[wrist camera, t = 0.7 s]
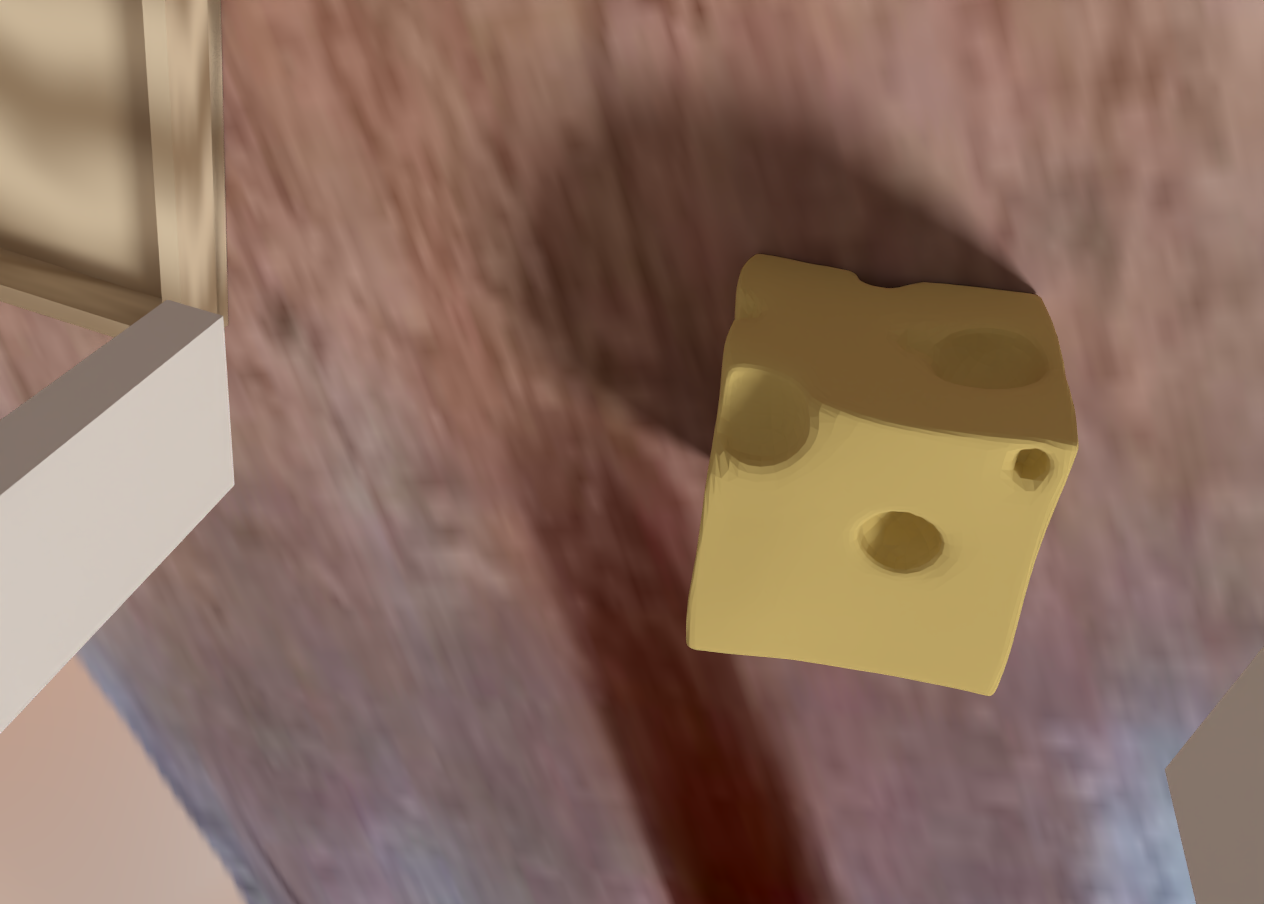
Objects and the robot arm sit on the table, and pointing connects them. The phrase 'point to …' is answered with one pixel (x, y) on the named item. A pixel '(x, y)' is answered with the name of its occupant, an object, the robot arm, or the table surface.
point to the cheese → (879, 474)
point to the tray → (111, 159)
